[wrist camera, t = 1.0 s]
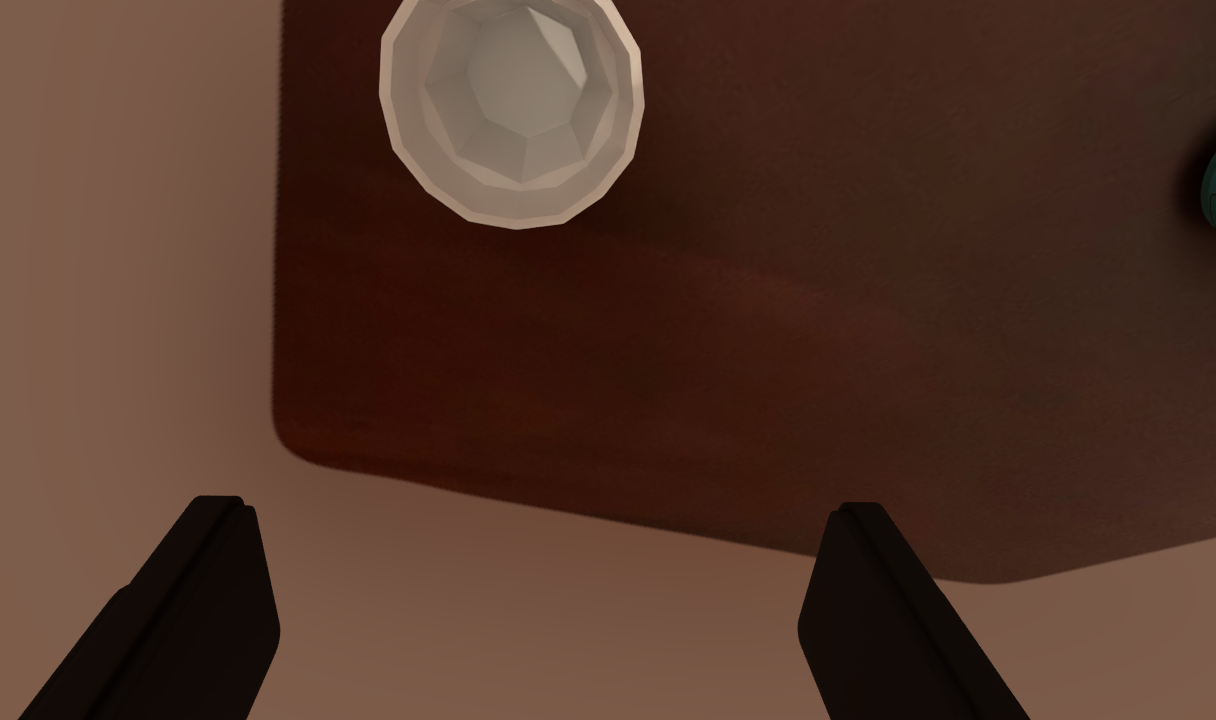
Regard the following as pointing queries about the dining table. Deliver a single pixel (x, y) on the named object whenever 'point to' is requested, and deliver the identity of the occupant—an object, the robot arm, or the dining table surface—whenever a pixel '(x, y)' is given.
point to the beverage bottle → (1209, 192)
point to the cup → (512, 104)
